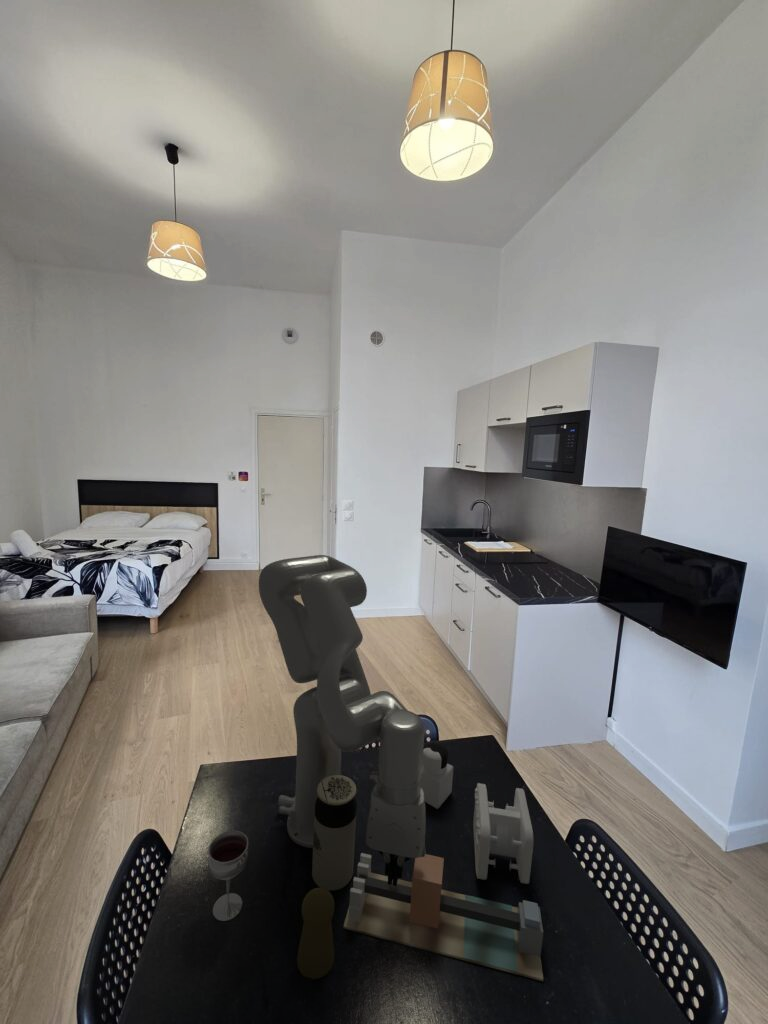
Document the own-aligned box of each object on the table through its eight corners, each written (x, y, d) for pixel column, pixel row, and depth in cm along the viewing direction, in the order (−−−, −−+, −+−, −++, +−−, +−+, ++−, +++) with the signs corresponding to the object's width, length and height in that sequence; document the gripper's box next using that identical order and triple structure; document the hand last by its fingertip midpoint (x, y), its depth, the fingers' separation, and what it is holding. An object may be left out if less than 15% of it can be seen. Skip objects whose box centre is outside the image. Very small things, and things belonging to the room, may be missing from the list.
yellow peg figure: (301, 986, 69) (304, 923, 68) (293, 946, 75) (295, 887, 73) (339, 970, 72) (342, 909, 70) (328, 932, 77) (331, 875, 76)
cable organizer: (530, 896, 86) (536, 841, 84) (473, 886, 87) (478, 831, 86) (518, 832, 100) (523, 784, 99) (470, 824, 102) (474, 777, 100)
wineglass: (204, 929, 76) (204, 866, 75) (210, 891, 83) (210, 832, 81) (246, 922, 78) (247, 860, 76) (248, 885, 84) (250, 827, 83)
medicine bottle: (426, 779, 115) (430, 735, 114) (451, 792, 111) (455, 747, 109) (411, 795, 109) (415, 749, 108) (437, 810, 105) (441, 762, 104)
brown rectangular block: (409, 921, 78) (412, 877, 77) (413, 893, 84) (416, 851, 82) (437, 928, 78) (441, 884, 76) (440, 900, 83) (443, 858, 81)
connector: (518, 953, 75) (521, 920, 75) (516, 926, 80) (519, 895, 79) (540, 959, 75) (544, 926, 74) (536, 932, 79) (540, 900, 78)
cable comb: (348, 921, 79) (349, 892, 78) (360, 878, 87) (361, 851, 86) (359, 924, 79) (360, 895, 78) (370, 880, 87) (371, 854, 86)
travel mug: (350, 852, 93) (355, 772, 90) (355, 889, 85) (360, 802, 83) (311, 856, 91) (315, 775, 89) (312, 894, 83) (316, 806, 81)
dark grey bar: (356, 890, 82) (357, 882, 82) (358, 882, 83) (359, 874, 83) (528, 933, 76) (529, 924, 76) (527, 923, 78) (528, 915, 78)
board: (343, 928, 78) (343, 925, 78) (359, 871, 89) (359, 869, 89) (543, 981, 72) (543, 978, 72) (534, 913, 82) (534, 911, 82)
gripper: (352, 791, 77) (347, 887, 79) (440, 809, 74) (433, 908, 76) (363, 762, 84) (358, 851, 86) (443, 777, 81) (437, 869, 83)
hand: (393, 878), depth 81 cm, fingers closed
